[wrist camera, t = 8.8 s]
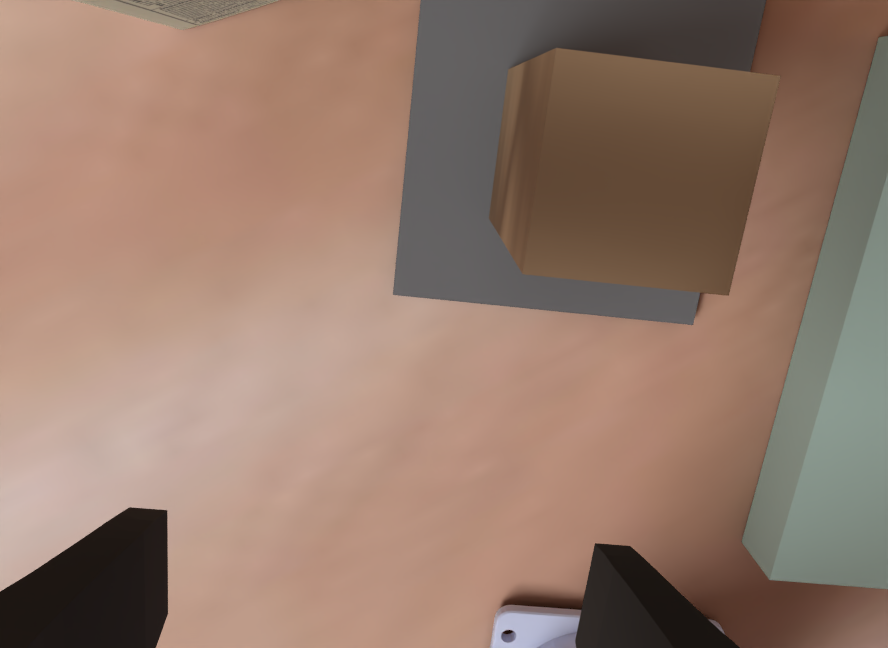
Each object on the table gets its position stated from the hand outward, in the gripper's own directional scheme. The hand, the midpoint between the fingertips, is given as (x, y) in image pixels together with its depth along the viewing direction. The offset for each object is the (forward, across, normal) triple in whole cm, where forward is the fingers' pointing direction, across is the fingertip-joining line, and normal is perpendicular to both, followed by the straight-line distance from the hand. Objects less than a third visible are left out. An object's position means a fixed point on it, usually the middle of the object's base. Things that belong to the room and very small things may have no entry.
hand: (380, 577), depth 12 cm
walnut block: (+10, -4, -7) cm, 13 cm away
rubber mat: (+10, -4, -7) cm, 13 cm away
